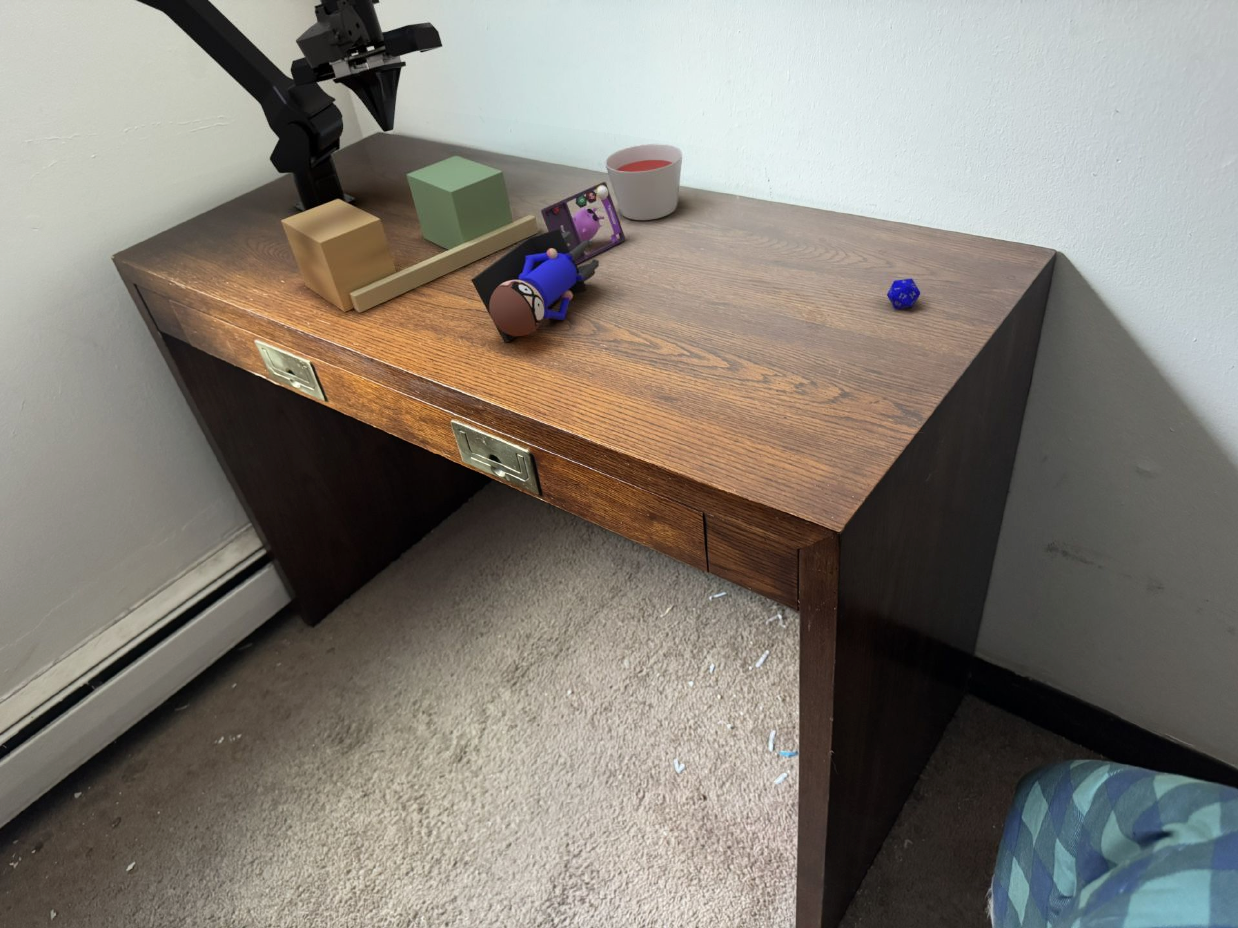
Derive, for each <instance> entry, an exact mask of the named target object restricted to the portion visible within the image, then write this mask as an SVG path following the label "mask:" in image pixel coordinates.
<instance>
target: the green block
mask: <svg viewBox="0 0 1238 928" xmlns="http://www.w3.org/2000/svg"><path fill="white" fill-rule="evenodd" d="M406 179H407V183H408V186H409V189H410V193H411V196H412V200H413V204H414V207H415V211H416V214H417V218H418V222H419V225H420V229H421V232H422V235H423V239H425V240H427V241H428V242H431V243H433V244H435V245H437V246H440V247H441V248H444V249H446V250H447V251H448V250H450V249H453V248H455V247H457V246H459V245H462V244H464V243H466V242H469V241H471V240H473V239H476V238H478V237H480V236H482V235H485V234H487V233H489V232H492V231H494V230H496V229H499V228H501V227H503V226H505V225H508V224H510V223H512V222H514V219H513V214H512V209H511V205H510V200H509V196H508V190H507V185H506V181H505V177H504V171H503V170H499V169H497V168H494V167H491V166H488V165H485V164H483V163H479V162H476V161H473V160H470V159H467V158H464V157H462V156H458V155H454V156H451V157H449V158H446V159H443V160H441V161H438V162H435V163H433V164H430V165H427V166H424V167H422V168H419V169H417V170H413V171H412V172H409V173H406Z"/></svg>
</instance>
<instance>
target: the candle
mask: <svg viewBox="0 0 1238 928" xmlns="http://www.w3.org/2000/svg"><path fill="white" fill-rule="evenodd" d="M682 163H683V151H682V150H681V149H680V148H679V147H677V146H674V145H670V144H666V143H665V144H664V143H645V144H637V145H633V146H627V147H625V148H622V149H619V150H617V151H615V152H613V153H611V154H610V155H608V156H607V158H606V159H605V161H604V165H605V169H606V172H607V174H608V177H609V181H610V185H611V187H612V191H613V194H614V197H615V200H616V203H617V206H618V210H619V212H620V214H621V216H623V217H624V218H626V219H629V220H633V221H651V220H657V219H661V218H664V217H667V216H668V215H671V214H673V212H675V210H676V209H677V207H678V203H679V195H680V186H681V185H680V183H681V174H682Z"/></svg>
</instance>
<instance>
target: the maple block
mask: <svg viewBox="0 0 1238 928" xmlns="http://www.w3.org/2000/svg"><path fill="white" fill-rule="evenodd" d="M280 222H281V225H282V227H283V230H284V232H285V235H286V238H287V240H288V243H289V246H290V249H291V251H292V253H293V256H294V259H295V261H296V264H297V267H298V270H299V271H300V275H301V277H302V279H303V282H304V285H305V287H306V288H308V289H309V290H311V291H312V292H313V293H315V294H316V295H318V296H320V297H321V298H322V299H324V300H325V301H327V302H329V303H330V304H332V305H333V306H335V307H336V308H338V309H339V310H341V311H342V312H344V313H347V312H348V311H350V310H353V309H355V308H354V305H353V302H352V300H351V297H350V293H351V292H354V291H356V290H358V289H361V288H363V287H365V286H368V285H370V284H372V283H374V282H377V281H379V280H381V279H384V278H386V277H388V276H390V275H393V274H395V273H397V270H396V266H395V263H394V260H393V256H392V253H391V250H390V247H389V243H388V240H387V236H386V234H385V230H384V227H383V223H382V220H381V219H380V218H379V217H377V216H375V215H374V214H371V213H369V212H367V211H364V210H363V209H361V208H359V207H357V206H354V205H352V204H348V203H346V202H344V201H342V200H340V199H336V200H334V201H331V202H328V203H326V204H323V205H320V206H318V207H315V208H313V209H310V210H307V211H305V212H299V213H297V214H294V215H291V216H289V217H286V218H283V219H281V220H280Z"/></svg>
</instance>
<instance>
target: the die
mask: <svg viewBox="0 0 1238 928" xmlns="http://www.w3.org/2000/svg"><path fill="white" fill-rule="evenodd" d="M920 295H921V291H920V289H919V287H918V286H917V284H916V283H915V281H914V279H913V278H904V279H896V280H893V282H892V284H891V286H890V288H889V289H888V291H887V293H886V297H887V298H888V300H889V301H890V303H891V305H892V307H893V309H895V310H901V309H909V308H913V307H914V306H915V304H916V302H917V300H918V299H919V297H920Z"/></svg>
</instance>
